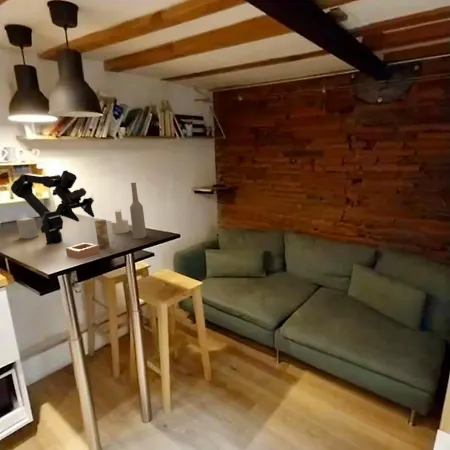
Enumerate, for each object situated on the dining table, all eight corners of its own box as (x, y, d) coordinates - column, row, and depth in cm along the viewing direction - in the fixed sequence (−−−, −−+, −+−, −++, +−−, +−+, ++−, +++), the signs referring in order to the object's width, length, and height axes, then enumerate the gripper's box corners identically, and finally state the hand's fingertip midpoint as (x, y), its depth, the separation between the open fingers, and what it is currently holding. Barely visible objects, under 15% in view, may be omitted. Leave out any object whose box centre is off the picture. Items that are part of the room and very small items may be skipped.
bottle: (139, 234, 178) (133, 182, 172) (149, 235, 175) (143, 182, 168) (130, 238, 173) (123, 183, 166) (140, 239, 169) (133, 183, 163)
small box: (38, 236, 188) (35, 217, 185) (29, 239, 183) (25, 220, 180) (29, 235, 191) (25, 217, 189) (19, 238, 186) (15, 219, 184)
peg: (97, 249, 155) (93, 222, 152) (99, 246, 160) (95, 220, 157) (109, 248, 156) (105, 221, 153) (110, 245, 161) (106, 219, 158)
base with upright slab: (129, 232, 185) (126, 211, 182) (112, 234, 182) (109, 212, 180) (128, 228, 193) (126, 208, 190) (112, 230, 191) (109, 210, 188)
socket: (79, 259, 143) (77, 251, 142) (66, 255, 149) (65, 248, 148) (99, 252, 151) (98, 245, 150) (87, 249, 157) (86, 242, 156)
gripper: (55, 186, 149) (77, 211, 147) (88, 181, 165) (108, 203, 163) (46, 203, 154) (67, 227, 152) (78, 196, 170) (98, 218, 168)
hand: (86, 218), depth 159 cm, fingers open, 9 cm apart
